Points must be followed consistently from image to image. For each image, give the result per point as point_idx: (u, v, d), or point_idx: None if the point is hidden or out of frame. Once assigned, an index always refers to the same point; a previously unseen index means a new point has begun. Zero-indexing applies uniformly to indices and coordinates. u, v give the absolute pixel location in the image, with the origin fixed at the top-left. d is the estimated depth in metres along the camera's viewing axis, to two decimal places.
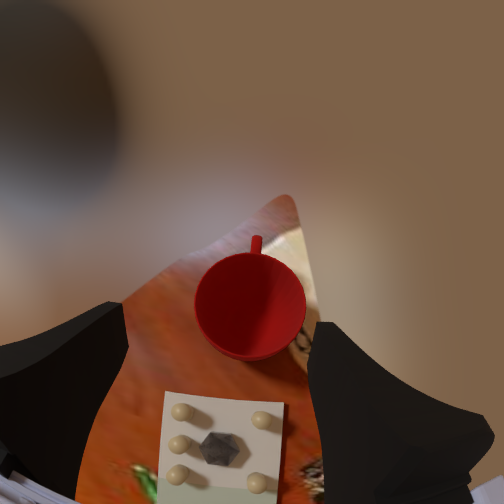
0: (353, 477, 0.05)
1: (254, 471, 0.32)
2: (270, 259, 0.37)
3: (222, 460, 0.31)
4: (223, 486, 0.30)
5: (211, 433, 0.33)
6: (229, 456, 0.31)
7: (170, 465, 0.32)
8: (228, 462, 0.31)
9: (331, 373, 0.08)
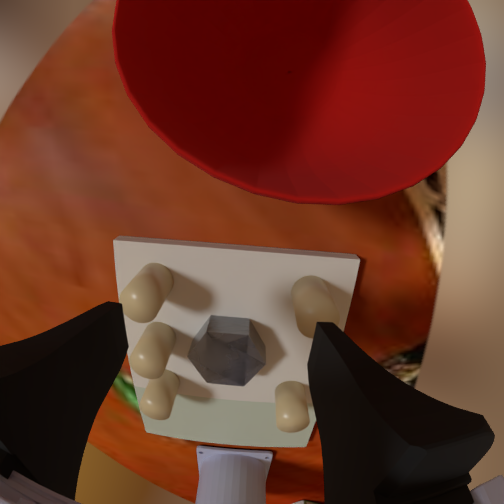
0: (353, 477, 0.05)
1: (289, 380, 0.22)
2: None
3: (234, 377, 0.19)
4: (236, 399, 0.23)
5: (209, 333, 0.18)
6: (246, 371, 0.19)
7: None
8: (244, 380, 0.19)
9: (331, 373, 0.08)
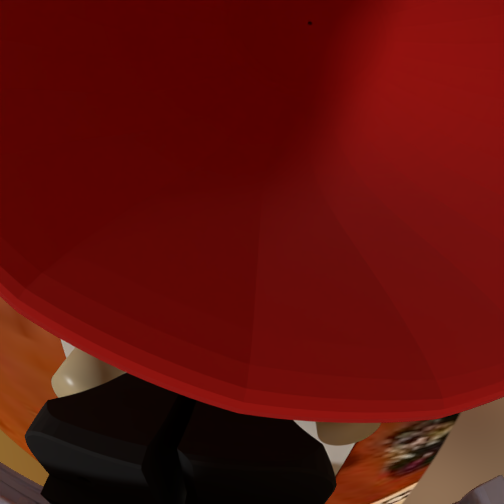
0: None
1: None
2: None
3: None
4: None
5: None
6: None
7: None
8: None
9: None
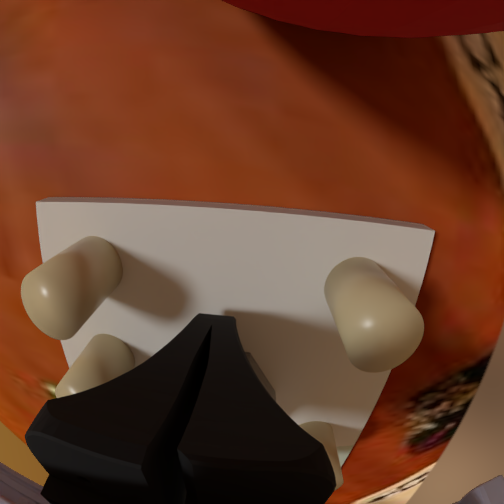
0: None
1: (311, 420, 0.13)
2: None
3: None
4: None
5: None
6: None
7: None
8: None
9: None
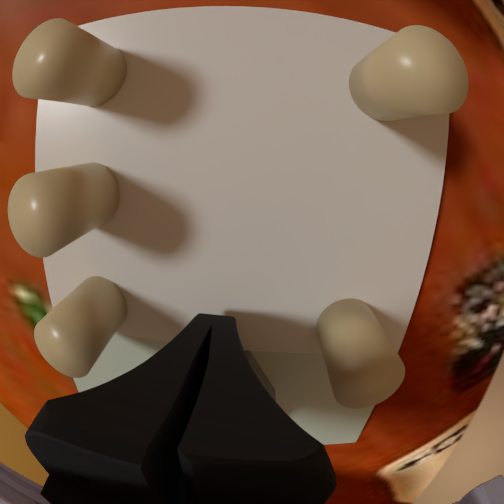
0: None
1: (346, 296, 0.11)
2: None
3: None
4: None
5: None
6: None
7: (73, 281, 0.11)
8: None
9: None
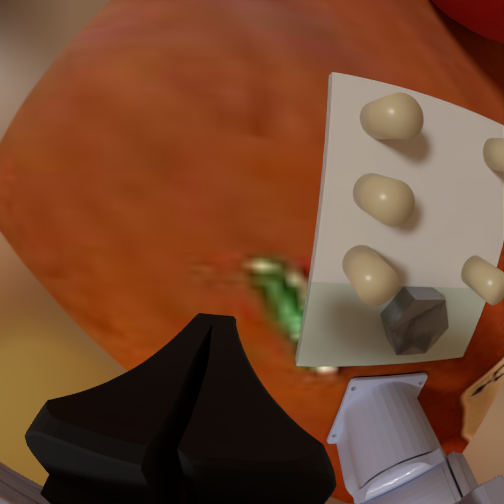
0: None
1: (474, 254, 0.18)
2: None
3: (421, 345, 0.18)
4: (427, 285, 0.19)
5: (417, 301, 0.17)
6: (432, 337, 0.18)
7: (341, 249, 0.18)
8: (427, 347, 0.18)
9: None
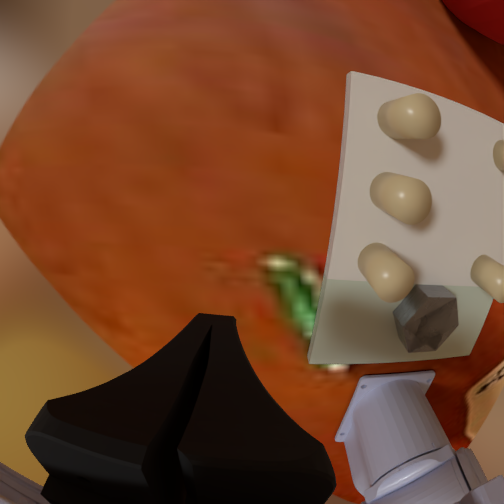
0: None
1: (483, 253, 0.18)
2: None
3: (432, 342, 0.18)
4: (438, 283, 0.19)
5: (429, 298, 0.17)
6: (442, 335, 0.18)
7: (357, 247, 0.18)
8: (438, 344, 0.18)
9: None
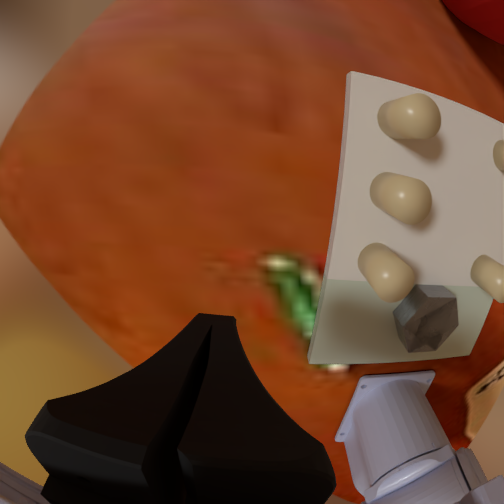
0: None
1: (483, 253, 0.18)
2: None
3: (432, 342, 0.18)
4: (438, 283, 0.19)
5: (429, 298, 0.17)
6: (442, 335, 0.18)
7: (357, 247, 0.18)
8: (438, 344, 0.18)
9: None
